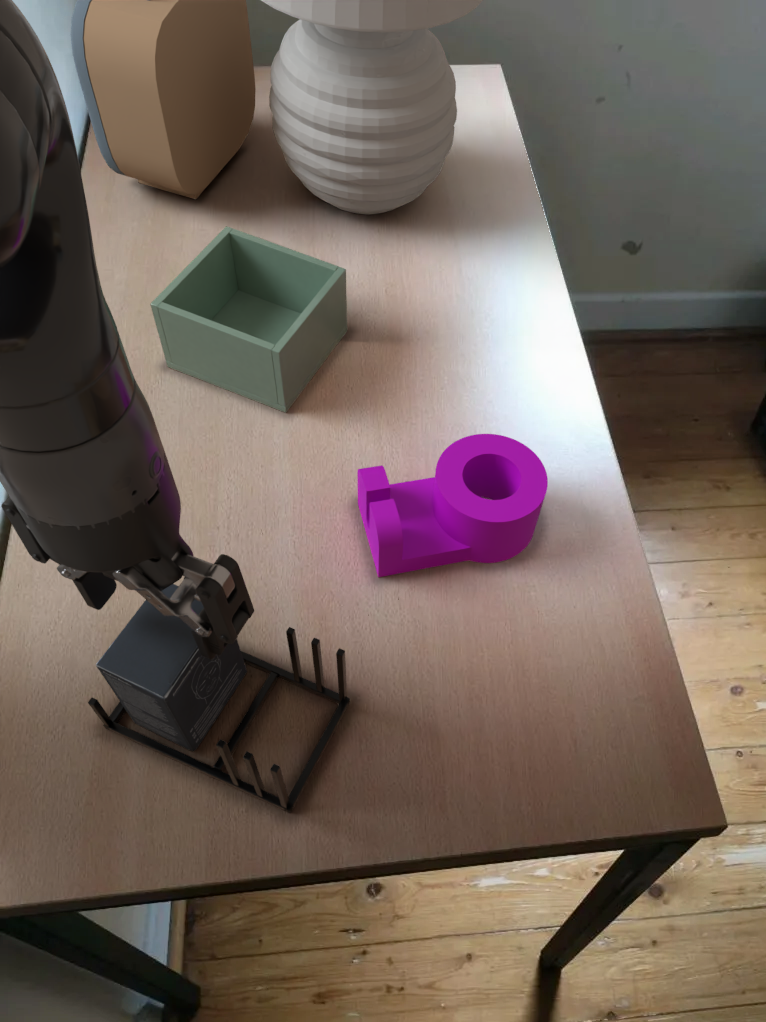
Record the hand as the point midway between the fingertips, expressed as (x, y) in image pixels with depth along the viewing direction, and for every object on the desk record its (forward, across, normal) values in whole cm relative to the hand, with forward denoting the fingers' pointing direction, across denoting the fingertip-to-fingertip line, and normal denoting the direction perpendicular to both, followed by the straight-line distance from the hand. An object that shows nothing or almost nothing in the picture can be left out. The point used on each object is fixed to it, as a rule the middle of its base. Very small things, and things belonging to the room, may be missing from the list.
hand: (159, 622), depth 53 cm
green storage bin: (+12, -15, +37) cm, 42 cm away
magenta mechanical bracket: (+13, +12, +25) cm, 30 cm away
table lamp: (+13, -18, +68) cm, 71 cm away
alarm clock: (+12, -39, +61) cm, 73 cm away
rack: (+12, +3, 0) cm, 13 cm away
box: (+13, 0, 0) cm, 13 cm away
